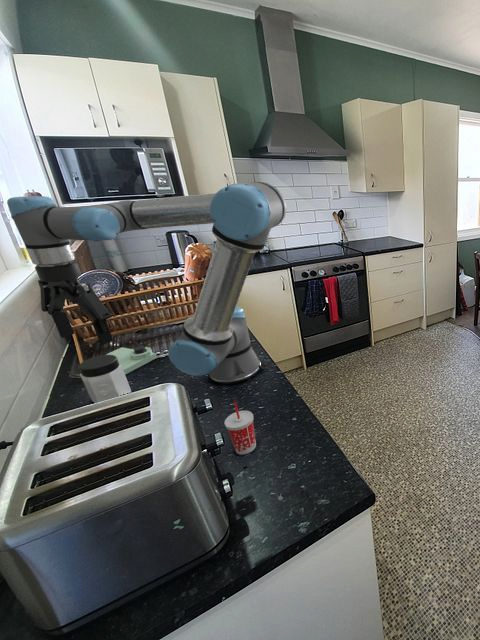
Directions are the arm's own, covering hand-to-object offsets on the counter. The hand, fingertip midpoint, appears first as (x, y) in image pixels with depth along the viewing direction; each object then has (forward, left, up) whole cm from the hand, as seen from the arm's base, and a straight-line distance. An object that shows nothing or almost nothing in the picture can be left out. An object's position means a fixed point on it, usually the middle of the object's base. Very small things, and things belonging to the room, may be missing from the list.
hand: (87, 339), depth 94 cm
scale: (+15, -15, -19) cm, 29 cm away
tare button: (+10, -19, -16) cm, 27 cm away
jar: (0, 0, -19) cm, 19 cm away
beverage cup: (-51, +7, -19) cm, 55 cm away
